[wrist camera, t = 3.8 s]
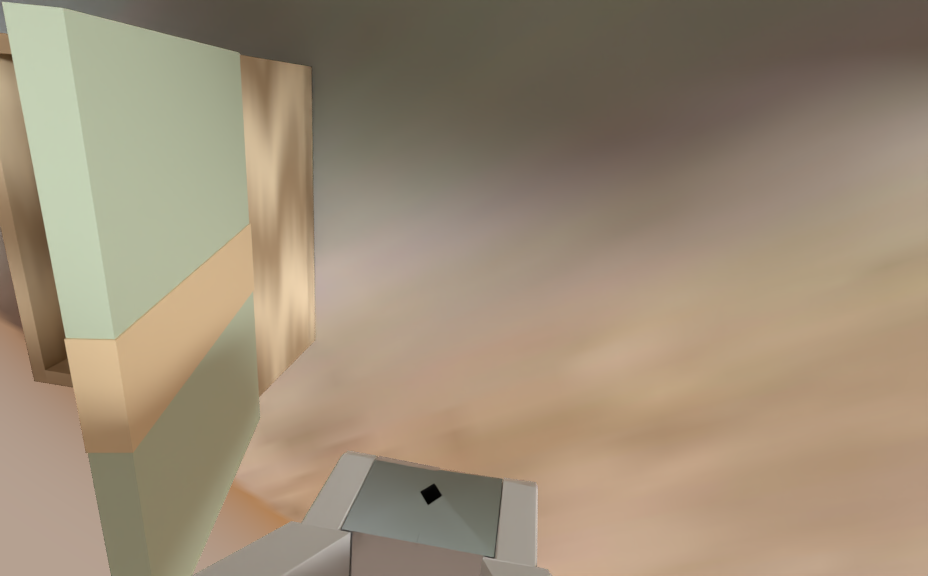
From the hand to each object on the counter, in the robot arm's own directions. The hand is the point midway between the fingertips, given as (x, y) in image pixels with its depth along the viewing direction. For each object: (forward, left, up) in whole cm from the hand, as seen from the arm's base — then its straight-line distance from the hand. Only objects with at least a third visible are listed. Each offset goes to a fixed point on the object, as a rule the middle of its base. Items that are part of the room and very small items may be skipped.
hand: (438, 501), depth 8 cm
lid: (0, -8, -5) cm, 10 cm away
